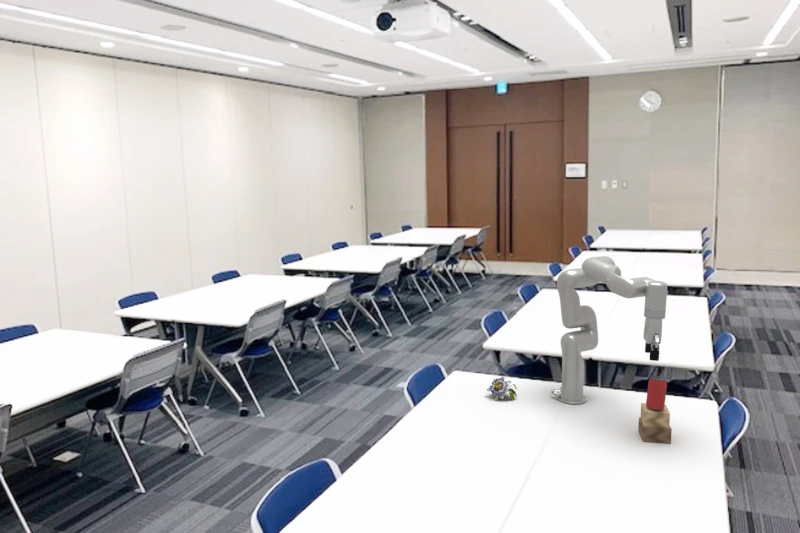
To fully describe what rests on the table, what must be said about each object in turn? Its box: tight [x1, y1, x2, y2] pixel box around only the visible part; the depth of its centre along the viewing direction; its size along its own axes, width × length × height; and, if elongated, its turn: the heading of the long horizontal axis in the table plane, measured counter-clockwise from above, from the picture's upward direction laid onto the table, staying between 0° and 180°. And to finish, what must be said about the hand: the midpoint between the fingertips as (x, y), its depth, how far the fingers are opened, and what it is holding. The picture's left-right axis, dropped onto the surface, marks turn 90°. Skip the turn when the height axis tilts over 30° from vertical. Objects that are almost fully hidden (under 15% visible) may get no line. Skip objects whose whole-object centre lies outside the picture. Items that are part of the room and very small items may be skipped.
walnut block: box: [637, 416, 673, 445], centre depth 241 cm, size 10×10×6 cm
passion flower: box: [486, 375, 518, 401], centre depth 285 cm, size 11×11×12 cm
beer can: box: [645, 375, 668, 410], centre depth 239 cm, size 7×7×12 cm
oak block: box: [640, 402, 671, 428], centre depth 241 cm, size 9×9×6 cm
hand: (651, 356), depth 240 cm, fingers open, 9 cm apart
